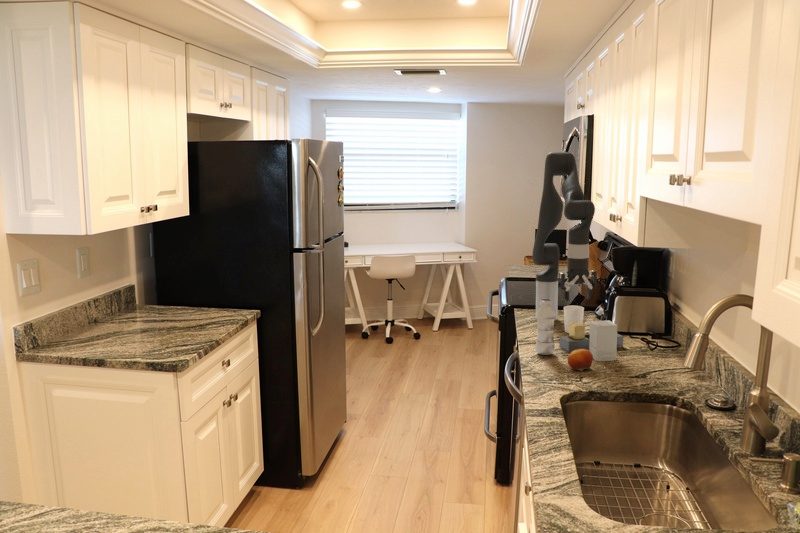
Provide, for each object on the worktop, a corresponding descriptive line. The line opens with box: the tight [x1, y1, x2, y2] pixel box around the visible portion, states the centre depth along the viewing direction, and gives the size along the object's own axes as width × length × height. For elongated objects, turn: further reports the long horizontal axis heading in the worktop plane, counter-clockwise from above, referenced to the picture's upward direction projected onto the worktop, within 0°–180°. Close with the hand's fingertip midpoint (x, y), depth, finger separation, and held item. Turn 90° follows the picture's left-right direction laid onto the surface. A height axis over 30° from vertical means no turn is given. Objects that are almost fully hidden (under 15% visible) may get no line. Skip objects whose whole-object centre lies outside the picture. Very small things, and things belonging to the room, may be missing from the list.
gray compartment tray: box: [559, 333, 624, 353], centre depth 236 cm, size 7×22×4 cm, turn 103°
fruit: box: [567, 349, 593, 372], centre depth 212 cm, size 8×8×8 cm
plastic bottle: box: [535, 299, 556, 356], centre depth 228 cm, size 6×7×20 cm
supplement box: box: [589, 320, 618, 362], centre depth 222 cm, size 7×7×13 cm
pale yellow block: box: [568, 323, 586, 340], centre depth 234 cm, size 4×4×8 cm
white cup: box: [563, 304, 585, 334], centre depth 257 cm, size 8×8×10 cm
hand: (577, 299), depth 232 cm, fingers open, 8 cm apart
